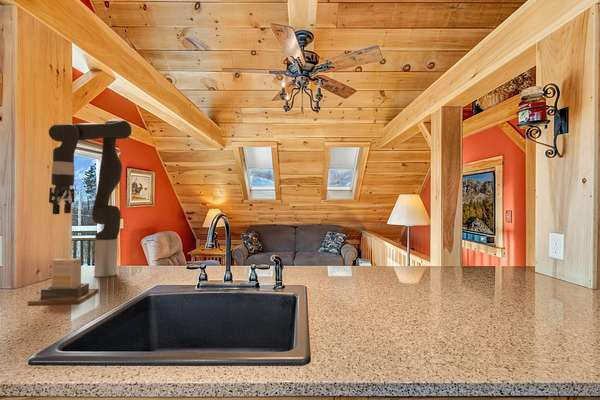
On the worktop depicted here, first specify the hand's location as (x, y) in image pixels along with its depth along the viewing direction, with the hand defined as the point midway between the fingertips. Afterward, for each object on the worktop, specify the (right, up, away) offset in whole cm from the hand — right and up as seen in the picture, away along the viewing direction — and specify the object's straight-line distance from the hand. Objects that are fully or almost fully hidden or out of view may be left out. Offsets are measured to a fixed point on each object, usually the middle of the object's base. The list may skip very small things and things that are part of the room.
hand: (61, 213), depth 140 cm
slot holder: (+10, -30, -13) cm, 34 cm away
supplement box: (+10, -29, -12) cm, 33 cm away
